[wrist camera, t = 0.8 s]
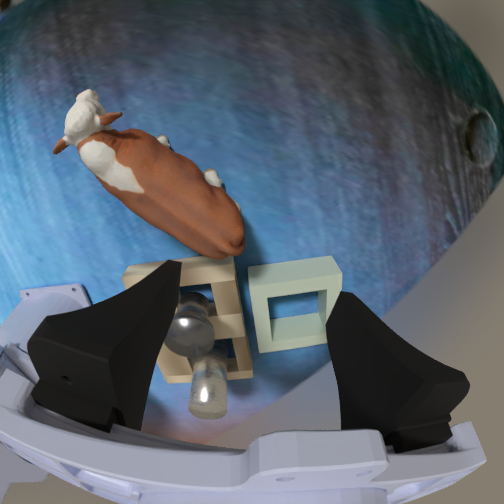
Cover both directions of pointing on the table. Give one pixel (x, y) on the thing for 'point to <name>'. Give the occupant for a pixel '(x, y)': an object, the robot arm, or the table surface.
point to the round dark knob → (191, 327)
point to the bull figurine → (155, 180)
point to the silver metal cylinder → (210, 383)
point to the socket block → (220, 314)
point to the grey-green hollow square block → (286, 283)
